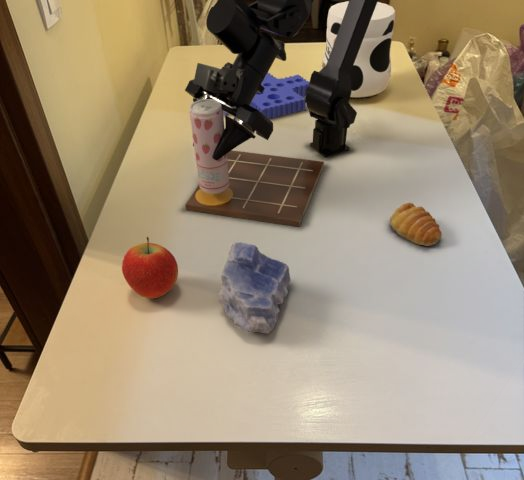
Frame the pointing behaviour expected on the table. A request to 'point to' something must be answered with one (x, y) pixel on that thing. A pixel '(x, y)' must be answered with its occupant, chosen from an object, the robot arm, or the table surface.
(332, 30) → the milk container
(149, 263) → the apple
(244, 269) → the mineral
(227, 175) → the beverage can
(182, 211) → the table surface
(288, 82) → the building block
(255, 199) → the board
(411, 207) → the pastry
